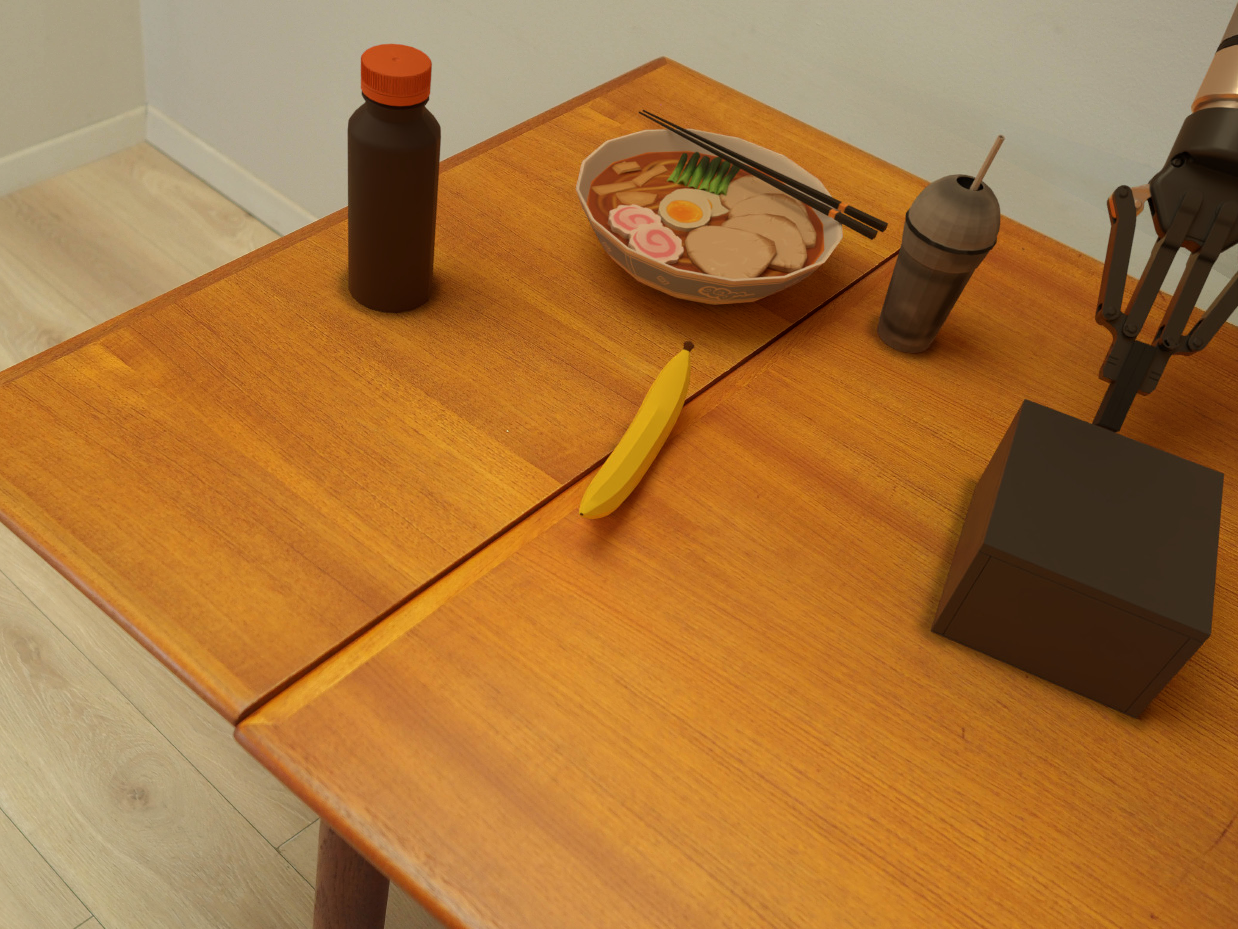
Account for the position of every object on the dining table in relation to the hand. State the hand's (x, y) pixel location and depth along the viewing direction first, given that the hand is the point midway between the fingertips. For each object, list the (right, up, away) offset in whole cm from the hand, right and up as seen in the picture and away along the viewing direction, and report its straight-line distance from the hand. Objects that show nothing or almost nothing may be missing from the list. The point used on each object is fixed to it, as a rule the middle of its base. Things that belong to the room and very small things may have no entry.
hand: (1104, 428), depth 86 cm
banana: (-35, -4, -1) cm, 36 cm away
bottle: (-54, +12, +10) cm, 56 cm away
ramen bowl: (-28, +15, +17) cm, 36 cm away
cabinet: (-6, -12, -5) cm, 15 cm away
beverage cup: (-11, +8, +14) cm, 20 cm away
